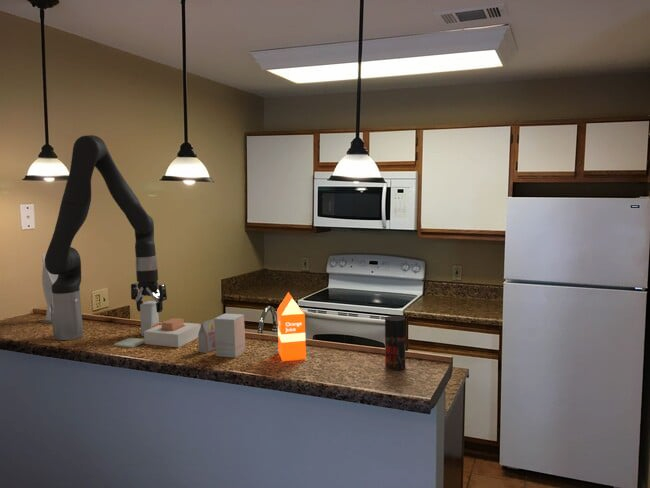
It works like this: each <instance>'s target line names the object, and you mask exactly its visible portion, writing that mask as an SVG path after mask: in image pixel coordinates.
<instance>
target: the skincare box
mask: <svg viewBox="0 0 650 488" xmlns="http://www.w3.org/2000/svg"><path fill="white" fill-rule="evenodd" d="M156 303H157V302H156V301H155V300H148V301H144V302H143V303H142V304H140V311H139V312H140V313H139V314H140V315H139V316H140V330H141V331H140V332H141V336H142V337H144V331H146V330H148V329H151V328H153V327H156V326H158V325H160V321H159V320H160V318H159V313H157V310H156Z"/></svg>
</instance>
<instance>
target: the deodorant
mask: <svg viewBox="0 0 650 488" xmlns="http://www.w3.org/2000/svg"><path fill="white" fill-rule="evenodd" d="M384 338H385V339H384V349H385V350H384V352H385V354H384V357H385V360H384V363H385V364H384V366H385V367H384V368H385V369H386V370H388V371H392V372H399V371H400V372H401V371H404V370H405V369H406V317H404V316H400V315H388V316H385V318H384Z"/></svg>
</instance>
